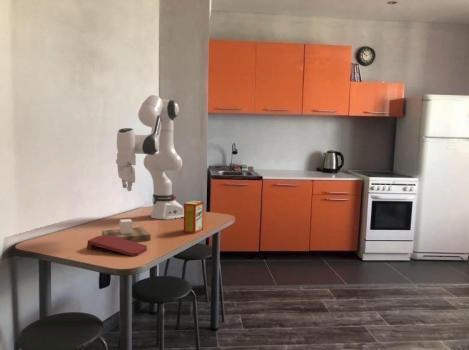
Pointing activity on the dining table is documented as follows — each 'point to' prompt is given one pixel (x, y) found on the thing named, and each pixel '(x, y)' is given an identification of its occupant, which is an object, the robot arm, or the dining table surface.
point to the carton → (116, 245)
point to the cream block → (126, 226)
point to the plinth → (130, 234)
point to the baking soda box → (193, 216)
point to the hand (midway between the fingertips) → (126, 189)
